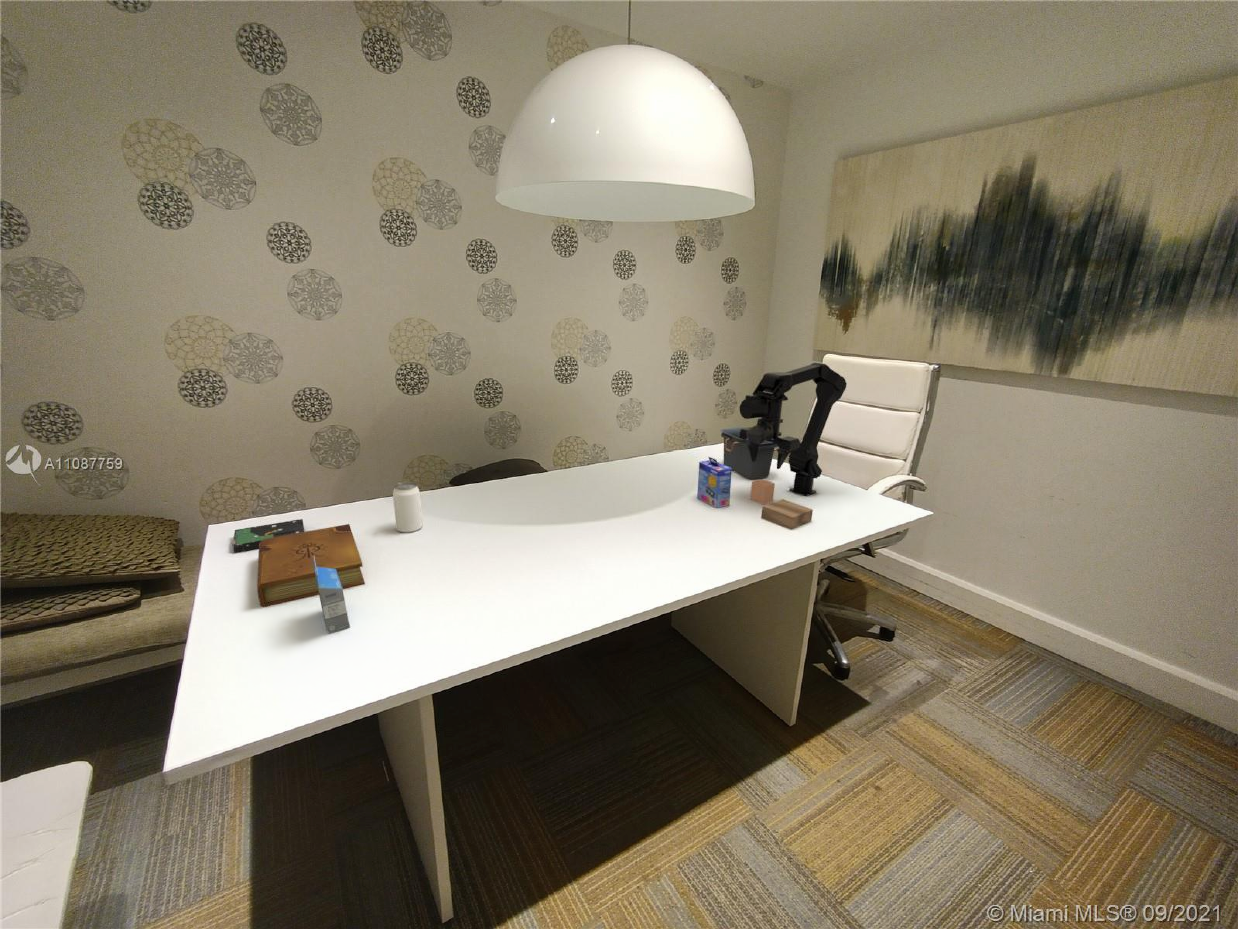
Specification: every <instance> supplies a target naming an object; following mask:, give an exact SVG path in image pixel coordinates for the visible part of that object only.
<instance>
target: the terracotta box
mask: <svg viewBox="0 0 1238 929" xmlns="http://www.w3.org/2000/svg"><path fill="white" fill-rule="evenodd" d="M775 486H776V483H775V482H772V481H769V480H766V479H764V478H759V479H756V480H754V481H751V489H750V498H749V501H753V502H756V503H758V504H761V505H765V503H766V504H770V503H773V502H774V494H775Z"/></svg>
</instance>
